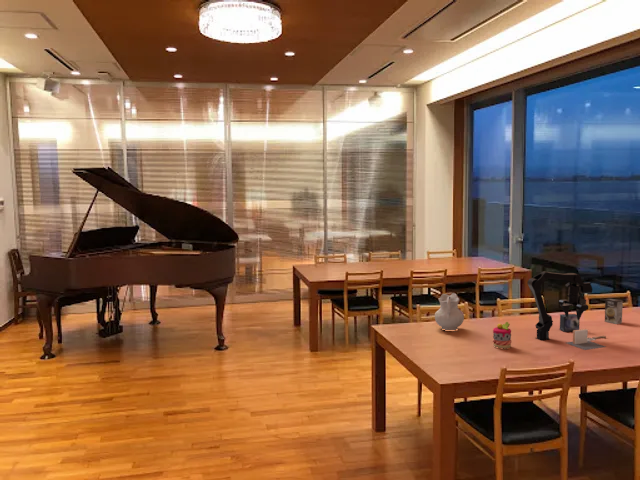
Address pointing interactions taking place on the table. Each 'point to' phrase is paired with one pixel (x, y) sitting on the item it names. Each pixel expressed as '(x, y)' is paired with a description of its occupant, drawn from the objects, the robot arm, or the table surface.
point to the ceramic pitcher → (449, 312)
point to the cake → (502, 336)
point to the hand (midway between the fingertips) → (572, 318)
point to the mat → (586, 345)
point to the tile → (580, 336)
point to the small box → (569, 322)
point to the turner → (595, 338)
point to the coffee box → (613, 311)
